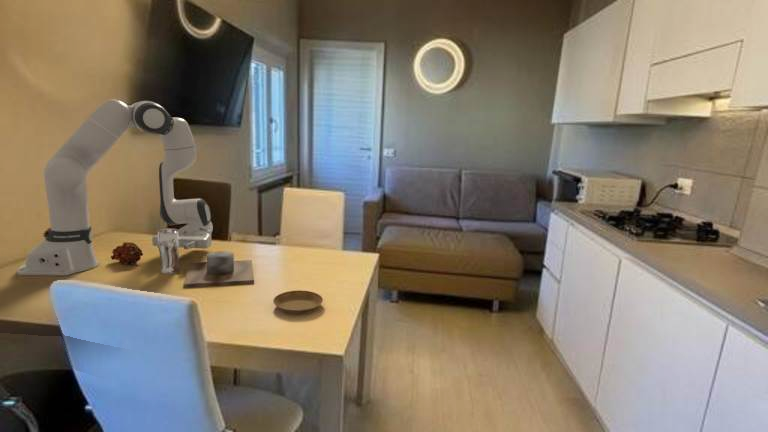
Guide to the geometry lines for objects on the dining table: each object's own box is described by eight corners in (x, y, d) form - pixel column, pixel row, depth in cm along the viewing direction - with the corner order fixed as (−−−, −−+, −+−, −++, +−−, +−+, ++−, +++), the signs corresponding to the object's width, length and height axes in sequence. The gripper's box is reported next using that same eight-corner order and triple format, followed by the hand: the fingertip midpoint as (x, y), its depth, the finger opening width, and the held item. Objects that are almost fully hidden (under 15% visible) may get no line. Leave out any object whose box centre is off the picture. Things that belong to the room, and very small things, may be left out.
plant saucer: (332, 308, 132) (332, 300, 132) (293, 323, 121) (293, 314, 121) (302, 294, 142) (302, 286, 141) (263, 306, 131) (263, 298, 130)
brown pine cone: (140, 270, 158) (115, 270, 162) (153, 252, 164) (128, 252, 168) (125, 255, 152) (99, 255, 156) (139, 237, 158) (114, 237, 162)
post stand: (183, 287, 141) (182, 266, 139) (189, 265, 161) (189, 247, 160) (254, 283, 148) (253, 263, 146) (251, 263, 168) (251, 245, 167)
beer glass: (184, 269, 158) (183, 229, 155) (174, 275, 151) (172, 233, 148) (166, 267, 158) (164, 227, 155) (155, 273, 151) (152, 232, 148)
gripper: (161, 227, 168) (142, 236, 155) (214, 230, 169) (200, 239, 155) (162, 242, 169) (143, 253, 156) (215, 245, 170) (201, 256, 156)
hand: (172, 246), depth 155 cm, fingers open, 8 cm apart
